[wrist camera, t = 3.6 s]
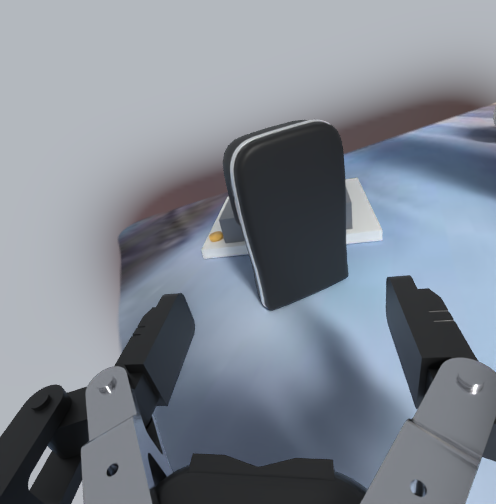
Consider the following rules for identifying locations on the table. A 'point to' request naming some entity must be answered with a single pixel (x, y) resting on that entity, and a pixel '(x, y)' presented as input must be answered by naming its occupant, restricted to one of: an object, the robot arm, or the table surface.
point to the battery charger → (290, 207)
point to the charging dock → (357, 225)
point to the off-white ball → (494, 117)
